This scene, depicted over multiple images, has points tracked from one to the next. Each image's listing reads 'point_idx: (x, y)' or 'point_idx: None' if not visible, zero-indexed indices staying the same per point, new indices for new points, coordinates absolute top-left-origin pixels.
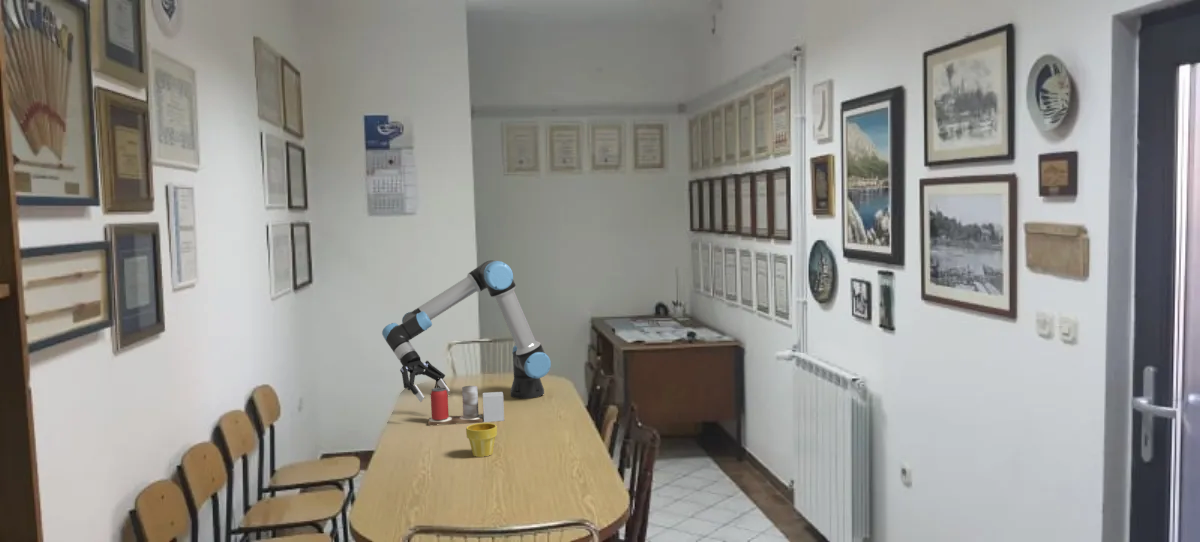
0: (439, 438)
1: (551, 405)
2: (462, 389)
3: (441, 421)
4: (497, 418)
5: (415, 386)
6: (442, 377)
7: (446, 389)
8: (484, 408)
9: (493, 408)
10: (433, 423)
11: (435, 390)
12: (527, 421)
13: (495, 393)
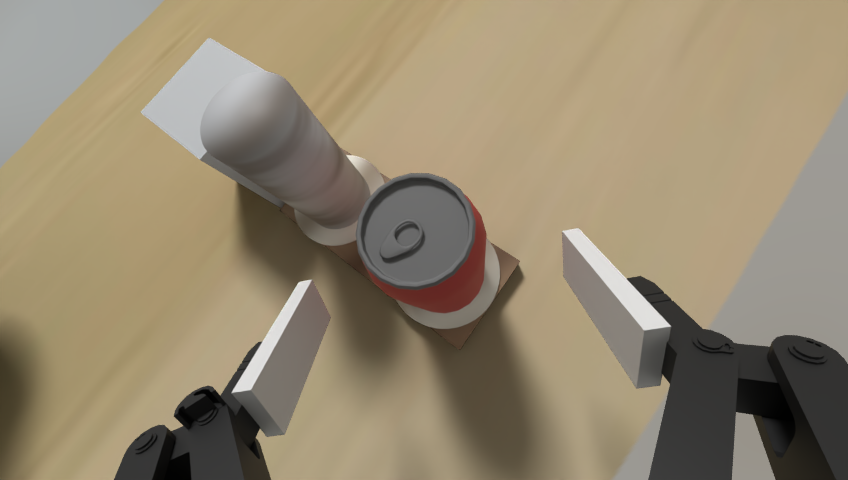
0: (592, 58)
1: (56, 182)
2: (295, 131)
3: None
4: None
5: (653, 310)
6: (213, 391)
7: (307, 302)
8: None
9: None
10: (498, 248)
11: (465, 200)
12: (254, 63)
13: (184, 102)
